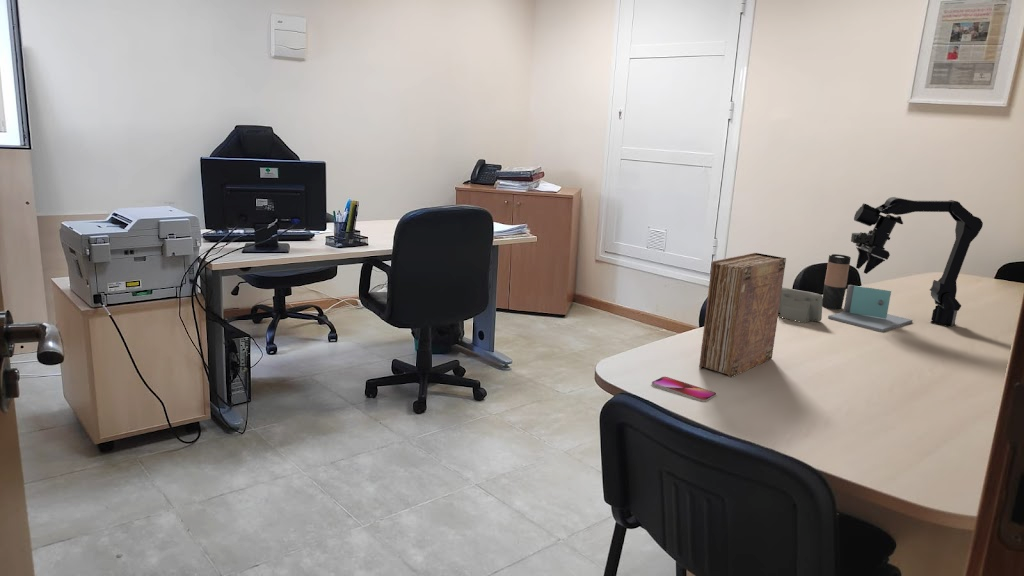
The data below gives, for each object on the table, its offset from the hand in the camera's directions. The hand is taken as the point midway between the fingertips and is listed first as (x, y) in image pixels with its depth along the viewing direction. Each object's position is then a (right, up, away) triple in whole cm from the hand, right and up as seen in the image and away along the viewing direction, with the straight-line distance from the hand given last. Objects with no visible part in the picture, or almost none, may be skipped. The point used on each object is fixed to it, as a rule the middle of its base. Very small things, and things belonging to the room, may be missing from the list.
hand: (861, 270), depth 254 cm
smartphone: (-84, -32, -78) cm, 119 cm away
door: (+1, -16, 0) cm, 16 cm away
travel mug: (-4, -14, +15) cm, 21 cm away
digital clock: (-25, -17, -4) cm, 31 cm away
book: (-63, -28, -56) cm, 89 cm away
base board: (+2, -18, -2) cm, 18 cm away
